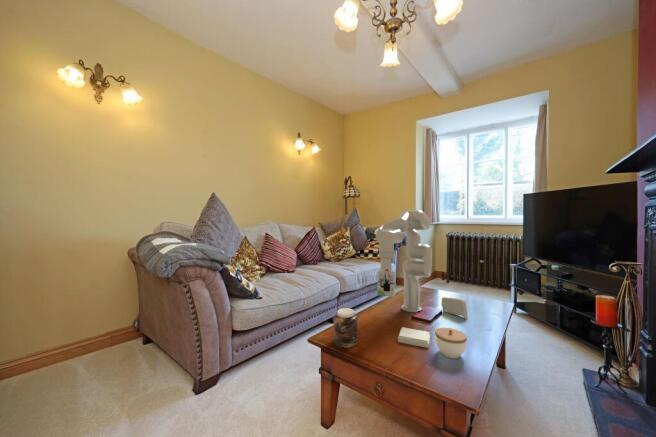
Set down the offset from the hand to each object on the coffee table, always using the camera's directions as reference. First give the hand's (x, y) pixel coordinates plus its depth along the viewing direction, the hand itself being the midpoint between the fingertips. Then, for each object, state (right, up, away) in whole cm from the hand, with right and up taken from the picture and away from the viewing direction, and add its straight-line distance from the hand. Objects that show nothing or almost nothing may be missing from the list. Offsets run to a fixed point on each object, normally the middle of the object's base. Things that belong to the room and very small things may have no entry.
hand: (386, 288), depth 135 cm
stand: (+12, -23, -6) cm, 27 cm away
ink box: (0, -3, 0) cm, 3 cm away
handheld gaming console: (+48, -23, +26) cm, 59 cm away
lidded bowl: (+24, -24, -19) cm, 39 cm away
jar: (-22, -24, -8) cm, 33 cm away
